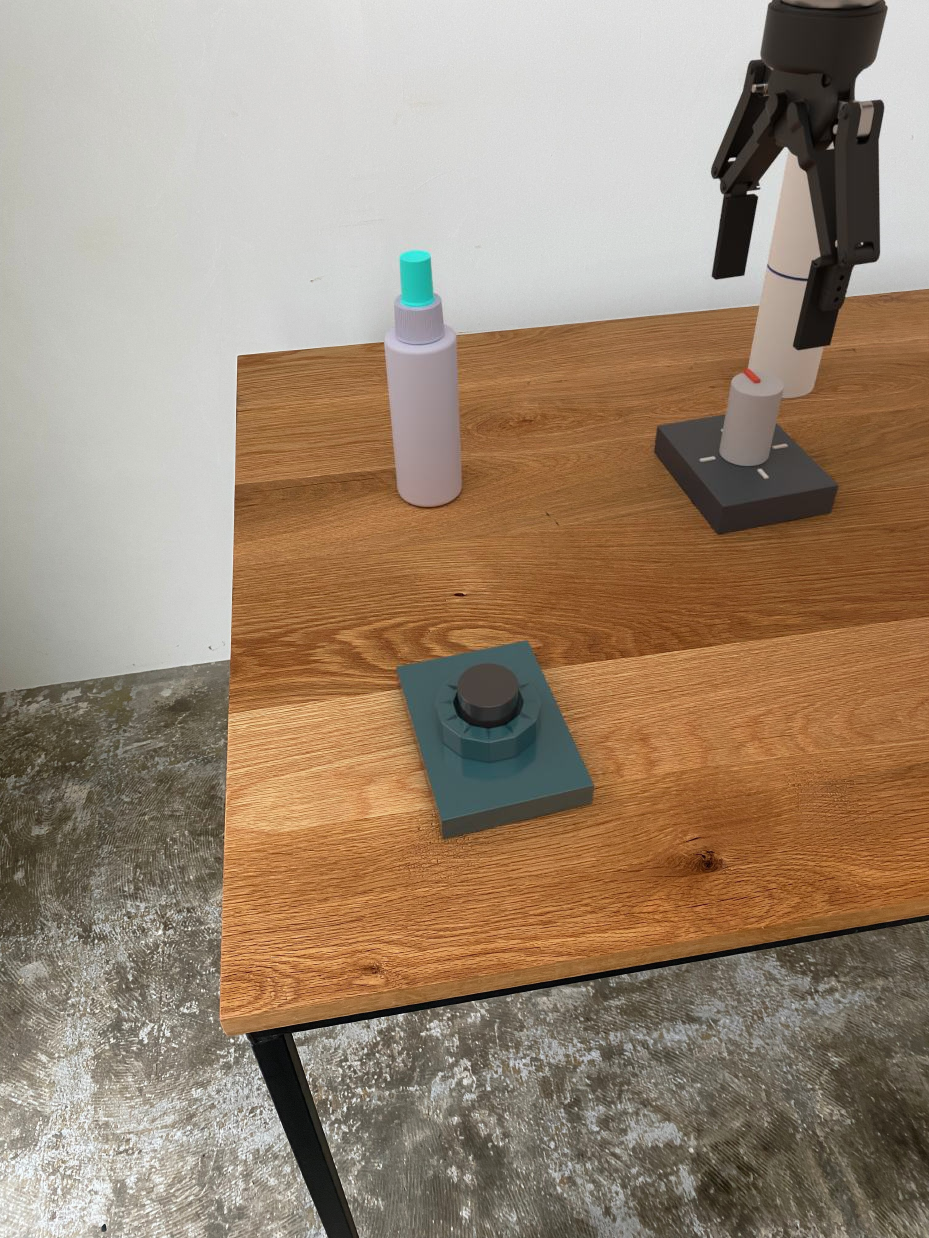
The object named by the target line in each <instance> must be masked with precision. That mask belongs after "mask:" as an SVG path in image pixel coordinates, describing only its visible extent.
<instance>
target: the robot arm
mask: <svg viewBox="0 0 929 1238" xmlns="http://www.w3.org/2000/svg"><path fill="white" fill-rule="evenodd" d="M888 10H889V7H888V5H887V4H886V1H885V0H771V1H770V2H769V3H768V4H767V10H766V15H765V21H764V26H763V27H764V28H763V34H762V39H761V40H762V41H761V45H760V53H759V55H760V59H751V60H749V62H748V65H747V68H746V73H745V78H744V81H743V82H744V83H743V88H742V92H741V94H740V96H739V98H738V101H737V103H736V107H735V109H734V111H733V114H732V116H731V118H730V121H729V123H728V126H727V128H726V130H725V133H724V134H723V135H724V136H723V137H722V140H721V143H720V145H719V148H718V150H717V152H716V155H715V157H714V160H713V162H712V165H711V168H710V175H711V178H712V180H719V182H720V183H719V191H720V193H721V194H722V196H723V197H722V204H721V209H720V210H721V211H720V215H719V217H720V218H719V221H718V222H719V223H718V230H717V231H718V232H717V238H716V243H715V244H716V245H715V252H714V257H713V264H712V270H711V277H712V278H713V280H717V281H718V280H725V279H731V278H738V277H744V276H745V274H746V268H747V263H748V258H749V257H748V256H749V253H750V246H751V240H752V235H753V229H754V223H755V218H756V213H757V206H758V201H759V195H757V194H755V193H748V192H753V191H759V190H761V187H760V186H761V185H760V181H761V179H762V178H763V176H764V175H765V174H766V172H767V171H768V170H769V169H770V167H771V166H772V164H773V163H774V162H775V160H776V159H777V158H778V156H780V154H781V152H782V151H783V150H784V149H785V148H787V150H789V151H790V152H791V153H792V154H793V155H795V156H797V159H798V164H799V167H800V168H801V169H802V170H804V171H805V172H806V174H807V179H808V185H809V191H810V197H811V203H812V209H813V214H814V220H815V226H816V232H817V238H818V244H819V250H820V257H818V258H817V259H815V260H812V262H811V267H810V271H809V275H808V280H807V284H806V289H805V293H804V298H803V302H802V307H801V311H800V315H799V320H798V324H797V329H796V333H795V338H794V342H793V347H794V348H795V349H796V350H804V349H811V348H817V347H823V346H824V347H828V346H831V344H832V340H833V336H834V331H835V328H836V323H837V320H838V317H839V312H840V310H841V309H842V307H843V306H844V304H845V300H846V296H847V293H848V288H849V285H850V281H851V278H852V272H853V270H854V267H855V266H858V265H866V264H871V263H876V262H878V260H879V259H880V256H881V211H880V209H881V207H880V204H881V203H880V202H881V201H880V137H881V131H882V124H883V120H884V114H885V113H884V112H885V103H884V101H883V100H882V99H873V100H862V101H861V100H857V99H856V96H855V95H856V94H855V93H856V92H855V91H856V82H857V78H858V77H859V75H860V74H861V73H862V72H864V70H866V69H868V68H870V67H871V66H872V65H873V64H874V63H875V61H876V59H877V57H878V52H879V49H880V48H879V47H880V44H881V39H882V35H883V31H884V27H885V22H886V19H887V13H888ZM832 142H833V145H834V149H828V147H829V146H830V145H831V143H832ZM827 149H828V150H827ZM730 159H734V160H730ZM836 240H837V247H836V245H835V242H836Z"/></svg>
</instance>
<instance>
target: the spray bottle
mask: <svg viewBox="0 0 929 1238" xmlns="http://www.w3.org/2000/svg"><path fill="white" fill-rule="evenodd" d="M398 259H399V274H400V275H399V277H400V294H399V295H398V296H396V297H395V298H394V300H393V304H394V326H393V327H391V328H389V330H387V332H386V333H385V335H384V337H383V345H384V356H385V357H384V359H385V367H386V378H387V390H388V400H389V411H390V421H391V433H392V442H393V445H392V446H393V455H394V466H395V475H396V476H395V478H396V486H397V487H396V488H397V492H398V495H399V496H400V497H401V498H402V500H404V501H405V502H407V503H409V504H411V505H413V506H415V507H416V506H417V507H421V508H422V507H423V508H433V507H439V506H443V505H446V504H448V503H451V502H452V501H453V500H455V499H456V498H457V497H458V496H459V495H460V493H461V491H462V488H463V475H462V449H461V446H462V445H461V422H460V399H459V398H460V392H459V369H458V368H459V367H458V364H459V363H458V342H457V341H458V340H457V339H458V337H457V333H456V331H455V330H454V329H453V327H451V326H449V325H448V324H446V323H445V321H444V313H443V302H442V301H443V300H442V297H441V295H439V294H438V293H435V292H434V284H433V283H434V282H433V270H432V269H433V268H432V255H431V253H430V252H428V251H425V250H421V249H420V250H419V249H414V250H407V251H404V252H402V253H401V254H400V255H399V257H398Z"/></svg>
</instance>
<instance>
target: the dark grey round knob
mask: <svg viewBox="0 0 929 1238" xmlns="http://www.w3.org/2000/svg"><path fill="white" fill-rule="evenodd" d="M457 689H458V708H459V712H460V714H461V716H462V717H463V718H464V720H466V721H467V722H468V723H470V724H472V725H474V726H477V727H482V728H495V727H499V726H502V725H504V724H506V723H508V722H509V721H511V720H512V719H513V718H514V716H515V715H516V713H517V711H518V680H517V678H516V676H515V675H514V673H513V672H512V671H511V670H509V669H508V668H506V667H504V666H501V665H498V664H492V663H484V664H478V665H475V666H472V667H470V668H469V669H467V670H466V671H464V672H463V673H462V675H461V676H460V678H459V680H458V684H457Z"/></svg>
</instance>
